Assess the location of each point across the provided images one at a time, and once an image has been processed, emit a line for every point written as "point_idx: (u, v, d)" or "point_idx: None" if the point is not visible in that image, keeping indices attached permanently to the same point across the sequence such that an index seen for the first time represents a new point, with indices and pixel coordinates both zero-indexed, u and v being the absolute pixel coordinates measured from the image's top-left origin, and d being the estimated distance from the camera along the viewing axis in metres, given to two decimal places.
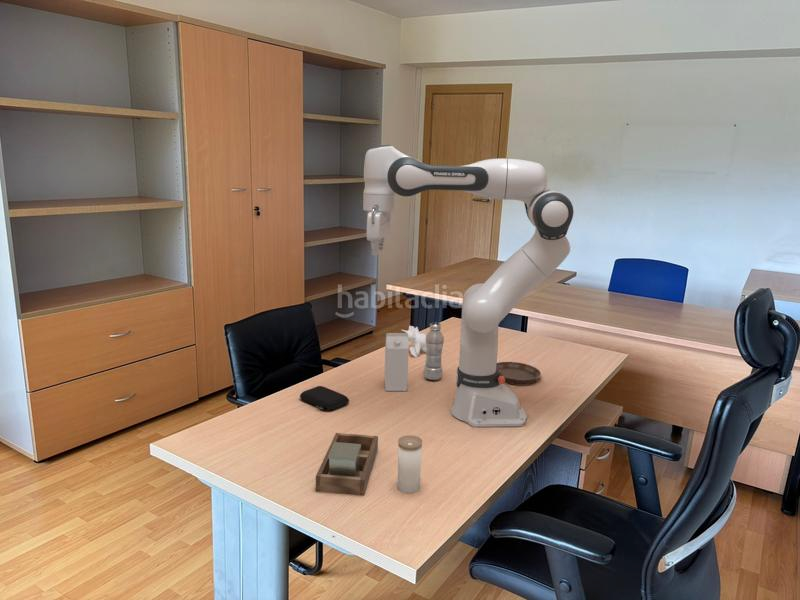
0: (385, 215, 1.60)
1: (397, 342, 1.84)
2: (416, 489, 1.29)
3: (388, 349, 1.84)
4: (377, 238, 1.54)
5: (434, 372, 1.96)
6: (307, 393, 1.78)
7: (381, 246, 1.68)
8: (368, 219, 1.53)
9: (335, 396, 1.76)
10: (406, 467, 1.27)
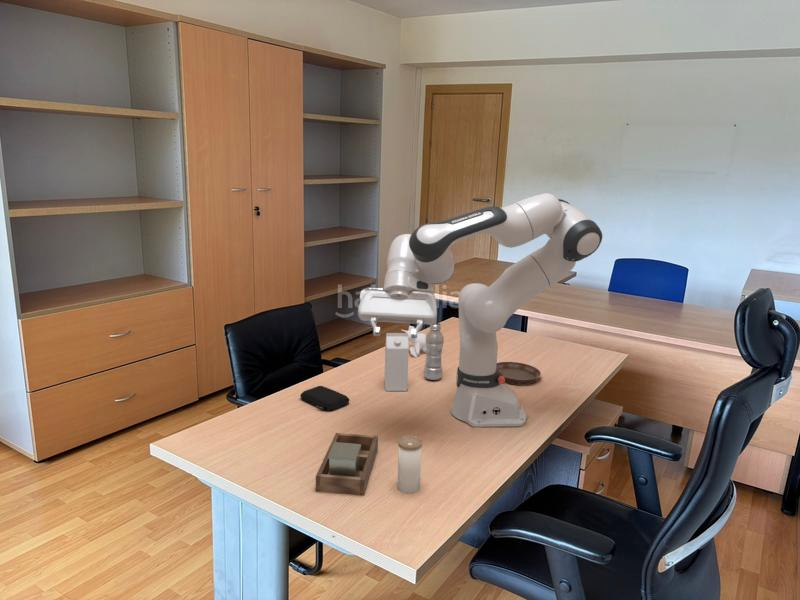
0: (390, 293, 1.46)
1: (397, 342, 1.84)
2: (416, 489, 1.29)
3: (388, 349, 1.84)
4: (358, 312, 1.45)
5: (434, 372, 1.96)
6: (307, 393, 1.78)
7: (411, 331, 1.42)
8: None
9: (335, 396, 1.76)
10: (406, 467, 1.27)
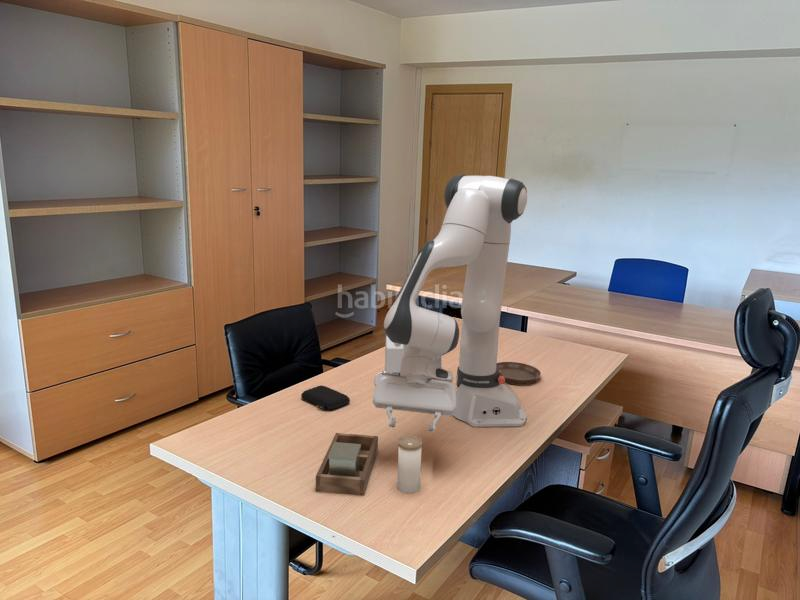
0: (408, 380, 1.38)
1: None
2: (416, 489, 1.29)
3: (388, 349, 1.84)
4: (373, 400, 1.37)
5: None
6: (308, 392, 1.78)
7: (429, 424, 1.35)
8: None
9: (336, 396, 1.76)
10: (406, 467, 1.27)
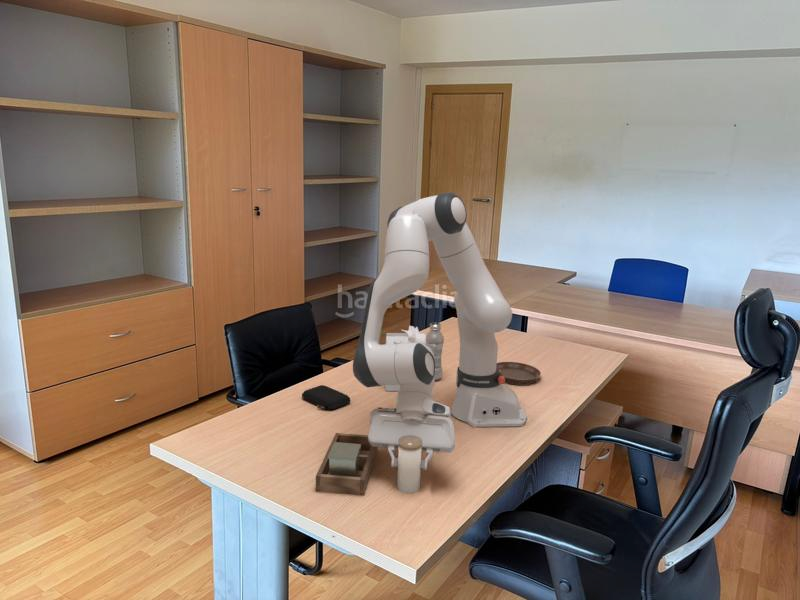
0: (403, 417, 1.33)
1: (397, 342, 1.84)
2: (416, 489, 1.29)
3: None
4: (368, 439, 1.32)
5: None
6: (309, 392, 1.78)
7: (421, 462, 1.29)
8: None
9: (336, 396, 1.76)
10: (406, 467, 1.27)
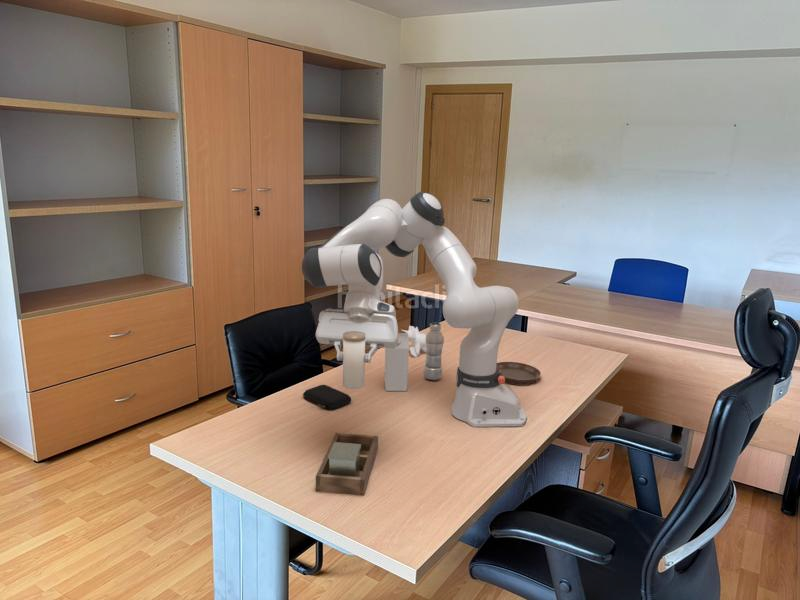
0: (350, 315, 1.40)
1: None
2: (360, 381, 1.36)
3: (388, 349, 1.84)
4: (316, 335, 1.38)
5: (434, 372, 1.96)
6: (310, 391, 1.79)
7: (364, 355, 1.36)
8: None
9: (337, 395, 1.77)
10: (350, 358, 1.34)
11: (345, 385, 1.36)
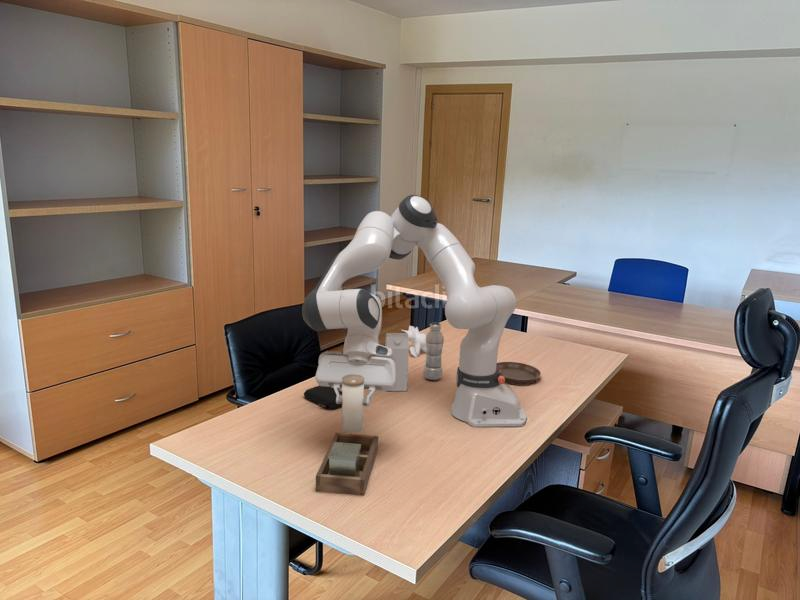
0: (349, 358, 1.43)
1: (397, 342, 1.84)
2: (359, 424, 1.38)
3: None
4: (315, 378, 1.41)
5: (434, 372, 1.96)
6: (311, 391, 1.79)
7: None
8: None
9: None
10: (349, 402, 1.36)
11: (344, 428, 1.39)
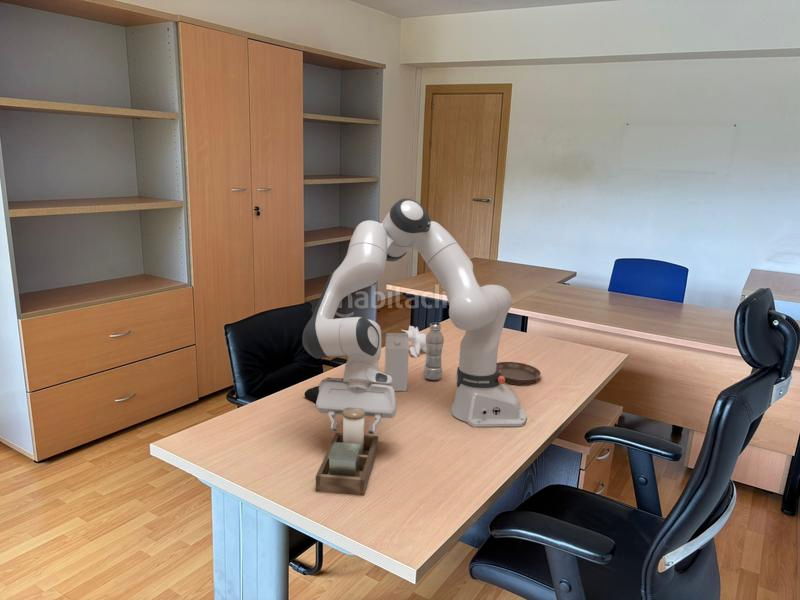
0: (349, 386, 1.44)
1: (397, 342, 1.84)
2: None
3: (388, 349, 1.84)
4: (316, 405, 1.43)
5: (434, 372, 1.96)
6: (311, 391, 1.79)
7: (369, 427, 1.40)
8: None
9: None
10: (349, 435, 1.38)
11: None
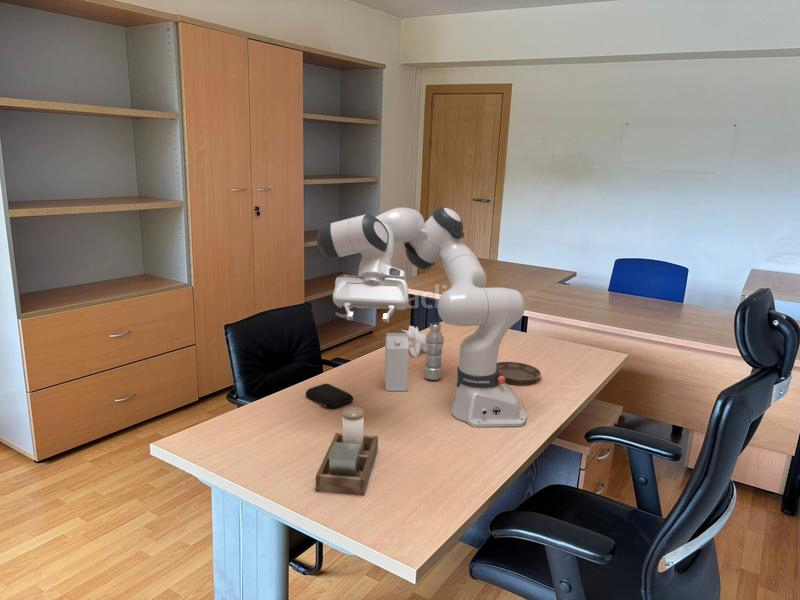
0: (364, 279, 1.52)
1: (397, 342, 1.84)
2: None
3: (388, 349, 1.84)
4: (333, 297, 1.51)
5: (434, 372, 1.96)
6: (312, 390, 1.80)
7: None
8: None
9: (339, 394, 1.77)
10: (349, 435, 1.38)
11: None
